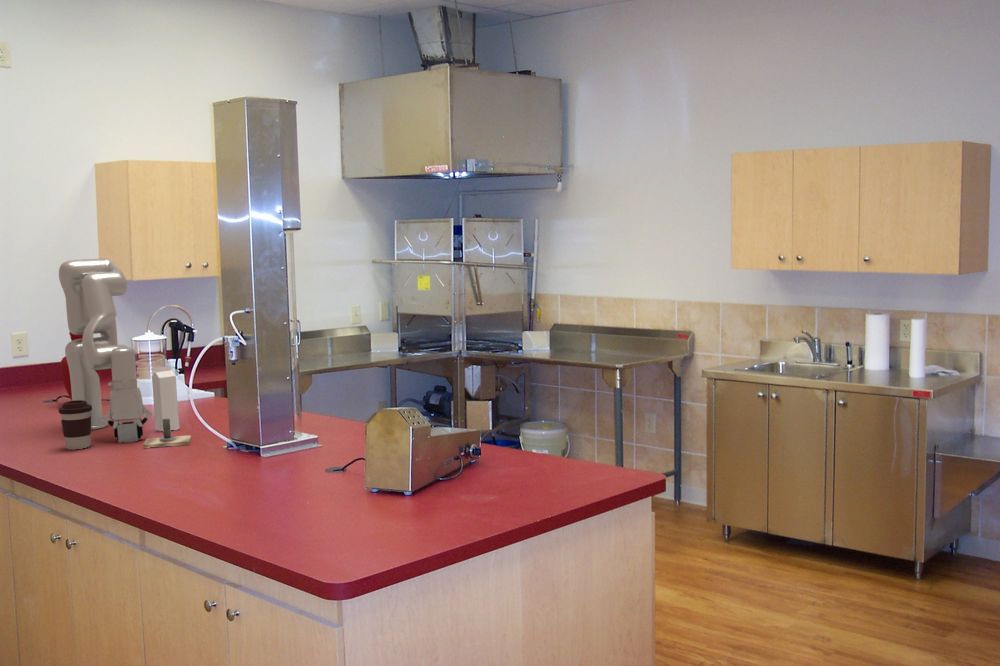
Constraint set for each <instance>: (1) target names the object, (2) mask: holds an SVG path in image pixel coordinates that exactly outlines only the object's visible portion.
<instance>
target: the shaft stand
mask: <svg viewBox="0 0 1000 666" xmlns="http://www.w3.org/2000/svg"><path fill="white" fill-rule="evenodd" d="M162 433H163V436H162V437H161V436H160V437H151V438H146V439H145V441H144V443H143V449H144V448H147V449H151V448H150V447H159V448H166V447H165V446H172V447H181V446H183V445H184V446H190V445H191V441H192V434H190V435H177V436H175V435H172V434H171V433H172V431H170V419H163V432H162Z"/></svg>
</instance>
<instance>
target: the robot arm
mask: <svg viewBox="0 0 1000 666" xmlns="http://www.w3.org/2000/svg"><path fill="white" fill-rule="evenodd" d="M58 279H59V283H60V285H61V288H62V291H63V294H64V297H65V307H66V319H67V320H66V321H67V327H68V331H69V332H71V333H72V334H74V335H83V339H77V340H73V341H69V342H67V344H66V345H65V348H64V351H65V353H64V354H65V356H66V358H67V362H68V366H69V372H70V380H71V391H72V401H75V400H84V401H86V402H87V404H89V405H92V410H91V411H90V416H91V431H93V430H98V429H103V428H106V427H108V425H109V426H110V427H112V428H113V434H114V438H116V441H118V430H117V425H118V423H119V422H120V421H134V420H135V421H137V423H138V427H137V430H138V438H139V440H140V439H142V436H143V435H144V431H143V430H144V429H143V426H144V424H145V423H147V421H148V420H149V419H150V418H151V417H152V415H153V413H152V412H151V411H150V410H149V409H147V408H146V407H145V406H144V402H143V398H142V392H141V389H140V387H138V381H137V379H138V378H137V363H136V354H135V349H134V348H133V347H130V346H127V345H125V344H118V343H119V342H118V332H117V331H118V330H117V320H116V317H117V311H116V307H115V303H114V300H113V297H121V296H123V295H125V294H126V293H127V289H128V282H127V278H126V276H125V275H124V273H123V272H122V270H121V268H119V267H118V266H117V265H116V263H114V262H113V261H112V260H111V259H109V258H87V259H86V258H83V259H72V260H71V259H70V260H67V261H65V262H63V263H61V264H60V266H59V268H58ZM97 334H100V336H96V337H94V335H97ZM108 369H109V370H110V369H111V378H112V381H110V382H107V386H108V387H110V388H112V389H111V390H110V392H109V410H108V411H107V412H106V413H105V414H104V415H103V407H102V394H101V393H102V392H101V382H100V381H101V378H100V379H99V376H98V374H97V373H96V371H95V370H108ZM144 415H145V417H144V418H143V416H144ZM61 419H62V417H60V420H61ZM60 424H62V422H61V421H60ZM92 429H93V430H92Z"/></svg>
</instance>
